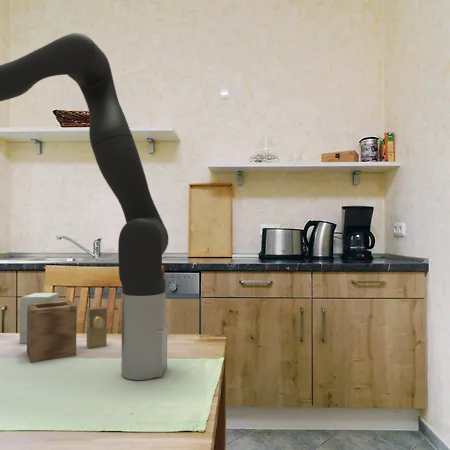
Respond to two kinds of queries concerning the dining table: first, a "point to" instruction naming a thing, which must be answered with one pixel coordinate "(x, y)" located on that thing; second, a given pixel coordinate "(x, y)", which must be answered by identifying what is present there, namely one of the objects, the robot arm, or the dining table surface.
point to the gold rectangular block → (96, 327)
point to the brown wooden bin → (51, 330)
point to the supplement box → (23, 309)
